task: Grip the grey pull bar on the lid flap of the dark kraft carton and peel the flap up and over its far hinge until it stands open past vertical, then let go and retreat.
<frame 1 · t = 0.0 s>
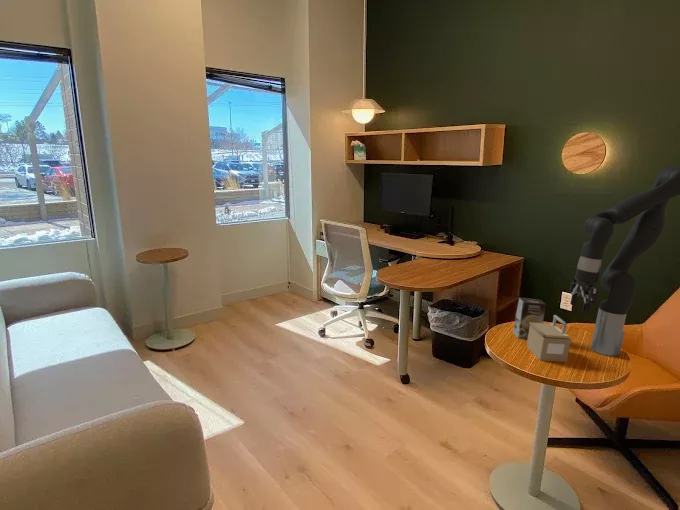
hand: (578, 308, 162), 17 cm above the table, tool pointing down, fingers open, 8 cm apart
flap: (549, 324, 158), point 12 cm above the table, hinge at 0.0°
coffee box: (525, 336, 176), on the table
carton: (545, 353, 161), on the table
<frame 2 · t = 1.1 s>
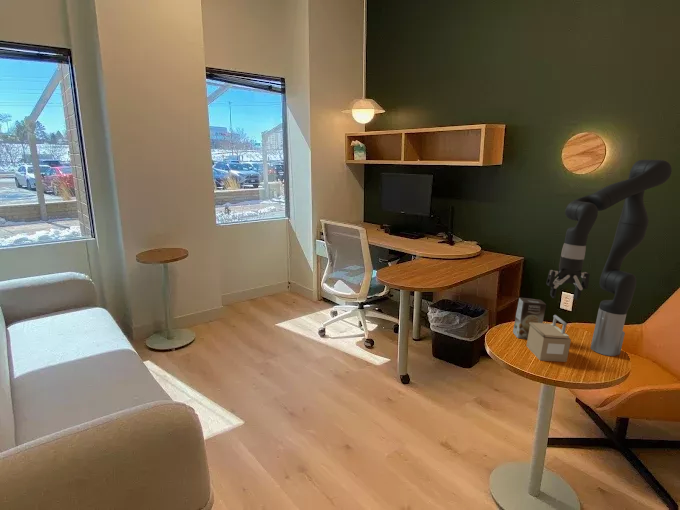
hand: (564, 298, 156), 23 cm above the table, tool pointing down, fingers open, 8 cm apart
nothing on the table moved.
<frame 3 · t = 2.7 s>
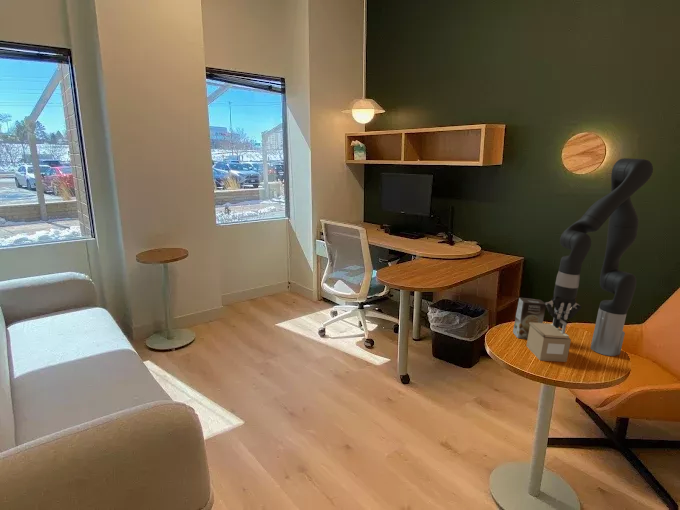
hand: (558, 327, 158), 11 cm above the table, tool pointing down, fingers closed
flap: (549, 324, 158), point 12 cm above the table, hinge at 0.0°, touching gripper
everything else where it was.
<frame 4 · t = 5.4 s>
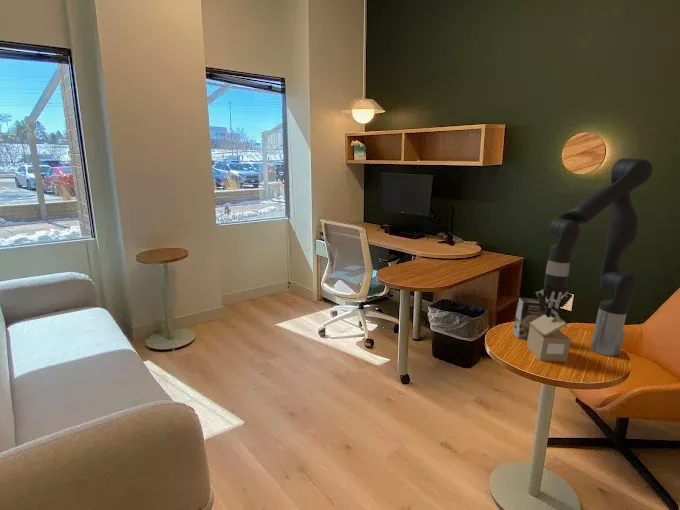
hand: (550, 316, 157), 15 cm above the table, tool pointing down, fingers closed
flap: (544, 319, 158), point 14 cm above the table, hinge at 35.4°, touching gripper
everything else where it was.
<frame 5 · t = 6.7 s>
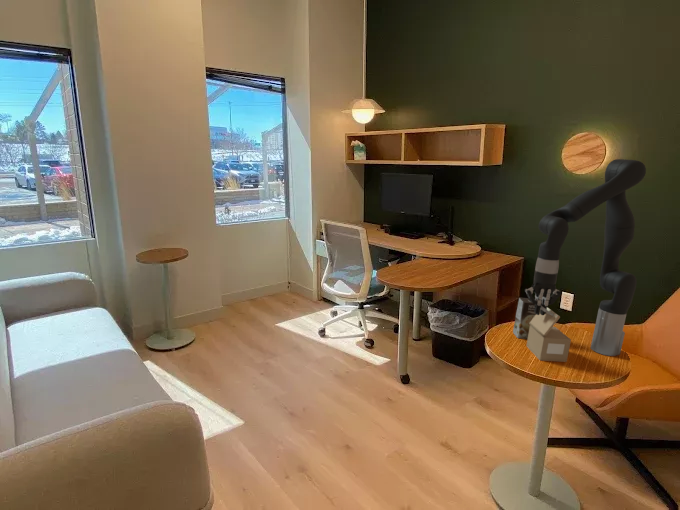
hand: (539, 314, 157), 16 cm above the table, tool pointing down, fingers closed
flap: (539, 317, 157), point 15 cm above the table, hinge at 62.4°, touching gripper
everything else where it was.
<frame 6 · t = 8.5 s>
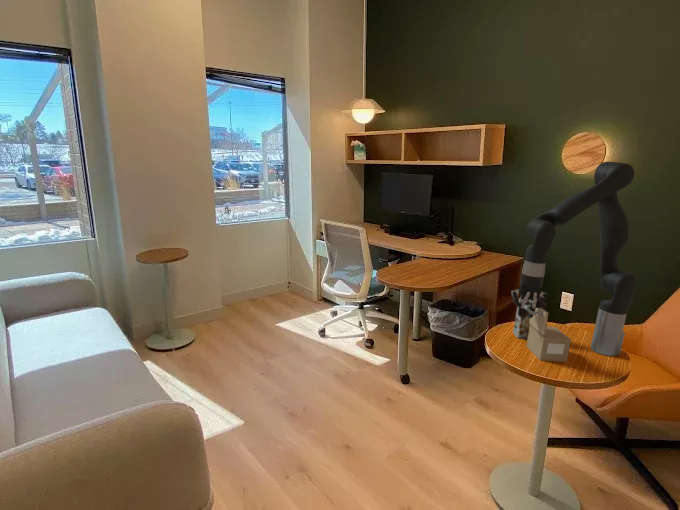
hand: (525, 316, 158), 15 cm above the table, tool pointing down, fingers open, 3 cm apart
flap: (532, 318, 158), point 14 cm above the table, hinge at 92.7°, touching gripper
everything else where it was.
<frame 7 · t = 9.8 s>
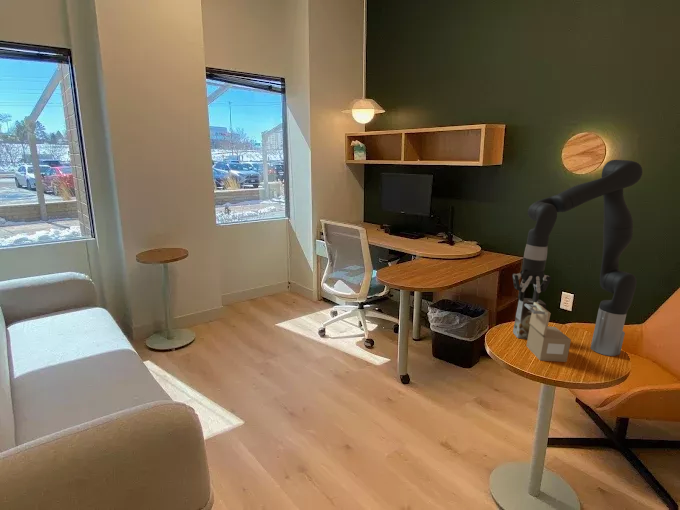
hand: (527, 300, 156), 21 cm above the table, tool pointing down, fingers open, 4 cm apart
flap: (533, 318, 158), point 14 cm above the table, hinge at 87.3°
everything else where it was.
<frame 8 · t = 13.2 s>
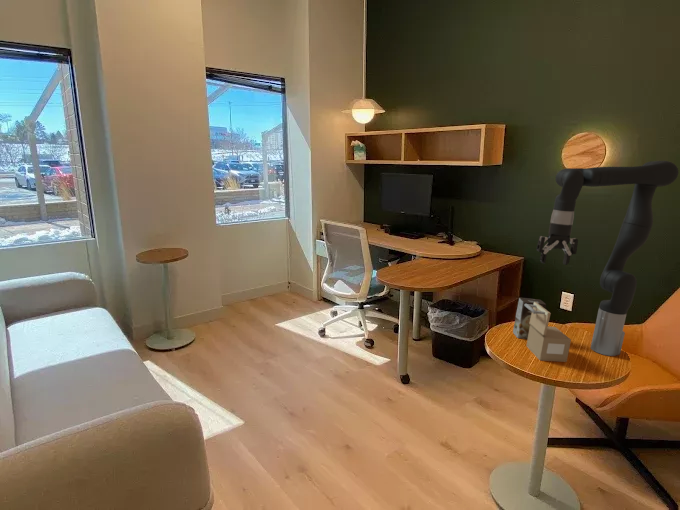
hand: (553, 263, 161), 34 cm above the table, tool pointing down, fingers open, 8 cm apart
nothing on the table moved.
at the end: flap at +87° (first picture: +0°); the gripper is holding nothing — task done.
